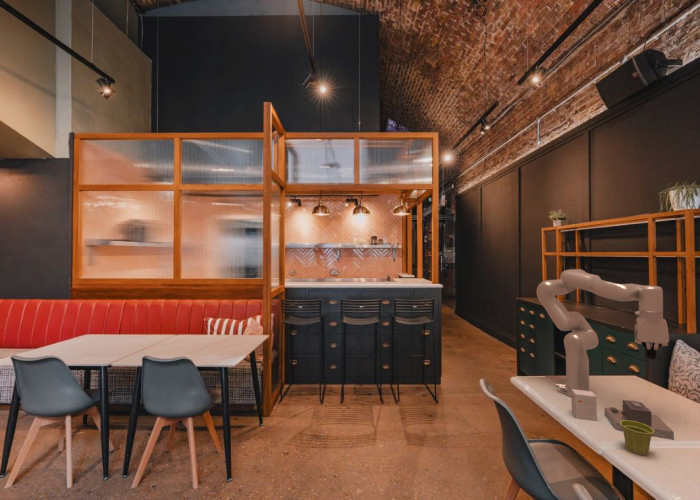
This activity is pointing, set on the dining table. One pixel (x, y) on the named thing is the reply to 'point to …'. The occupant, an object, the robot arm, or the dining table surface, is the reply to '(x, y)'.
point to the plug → (637, 412)
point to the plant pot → (637, 436)
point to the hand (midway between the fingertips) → (651, 358)
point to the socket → (656, 425)
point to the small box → (584, 404)
